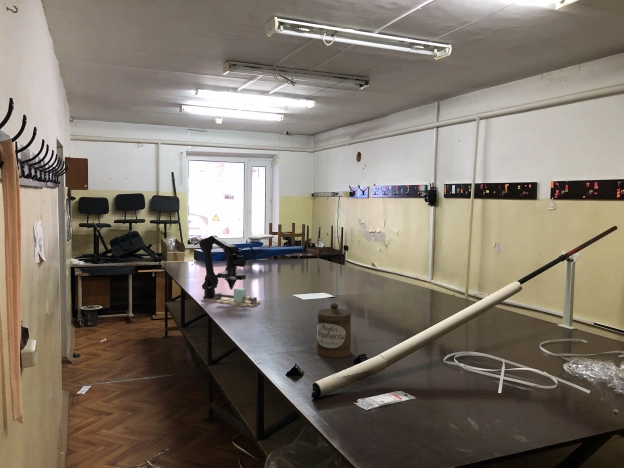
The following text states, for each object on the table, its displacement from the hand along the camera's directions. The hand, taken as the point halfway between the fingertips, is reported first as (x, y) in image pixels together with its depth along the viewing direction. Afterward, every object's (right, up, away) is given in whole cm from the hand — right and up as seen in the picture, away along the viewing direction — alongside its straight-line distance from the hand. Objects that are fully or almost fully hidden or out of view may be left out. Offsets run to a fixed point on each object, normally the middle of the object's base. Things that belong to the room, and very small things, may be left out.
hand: (231, 289), depth 307 cm
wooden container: (+61, -17, -96) cm, 115 cm away
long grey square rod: (+3, -6, -1) cm, 7 cm away
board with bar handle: (+3, -8, -1) cm, 9 cm away
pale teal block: (+6, -7, -2) cm, 9 cm away
